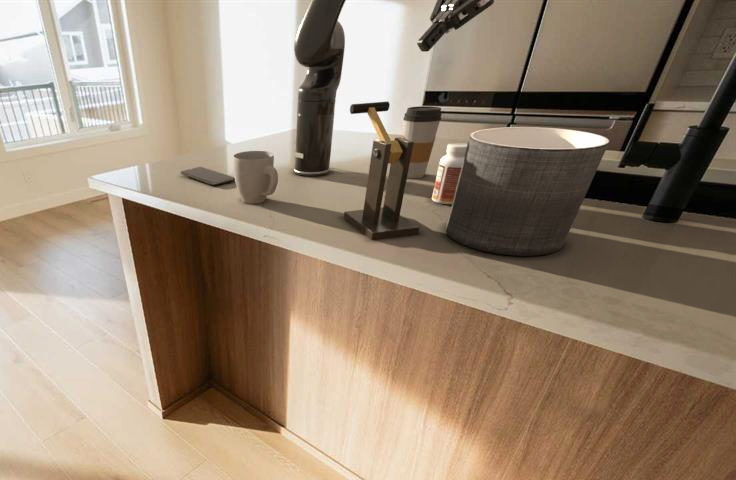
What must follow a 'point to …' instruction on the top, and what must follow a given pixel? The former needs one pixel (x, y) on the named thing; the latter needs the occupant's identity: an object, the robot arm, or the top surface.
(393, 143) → the lever
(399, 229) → the lever stand
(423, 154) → the coffee cup
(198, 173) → the smartphone
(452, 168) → the pill bottle
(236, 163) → the mug
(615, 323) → the top surface
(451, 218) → the planter
